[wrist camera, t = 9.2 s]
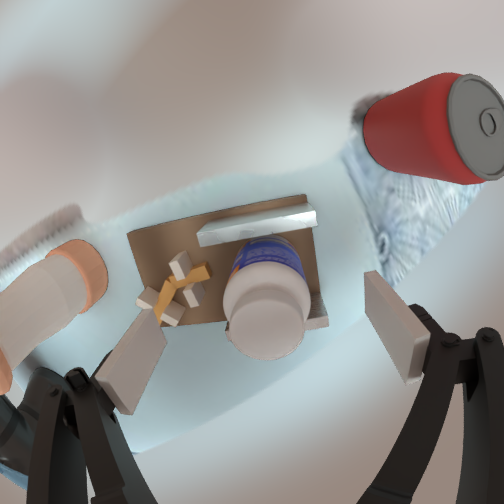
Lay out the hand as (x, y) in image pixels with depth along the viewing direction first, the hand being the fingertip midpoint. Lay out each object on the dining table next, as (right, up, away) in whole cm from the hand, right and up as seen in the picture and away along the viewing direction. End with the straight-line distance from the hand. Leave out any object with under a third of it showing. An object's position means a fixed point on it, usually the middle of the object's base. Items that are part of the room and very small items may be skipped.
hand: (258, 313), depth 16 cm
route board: (-3, +2, +8) cm, 9 cm away
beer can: (+12, +14, +4) cm, 18 cm away
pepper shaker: (-19, +2, +10) cm, 22 cm away
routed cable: (-7, 0, +8) cm, 11 cm away
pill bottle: (+1, +3, +7) cm, 8 cm away
